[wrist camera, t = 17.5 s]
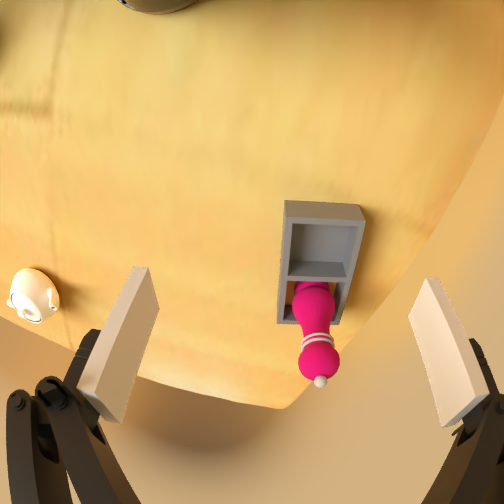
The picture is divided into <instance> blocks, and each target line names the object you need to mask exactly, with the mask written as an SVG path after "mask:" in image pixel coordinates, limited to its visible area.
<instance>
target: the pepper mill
mask: <svg viewBox="0 0 504 504" xmlns="http://www.w3.org/2000/svg"><path fill="white" fill-rule="evenodd" d="M294 296H295V297H294V299H293V301H292V309H293V313H294V316H295V318H296V320H297V321H298V322H299V324H300V325H301V327H302V330H303V335H304V338H303V340H302V341H301V351H302V353H301V354H300V356H299V360H298V365H299V369H300V371H301V373H302V375H303V376H304V377H306V378H308V379H310V380H313V381H314V383H315V385H316V386H317V387H320V388H321V387H324V386H325V385H326V383H327V379H328V378H330V377H332V376H333V375H334V374H335V373H336V372H337V370H338V368H339V365H340V358H339V354H338V352H337V351H336V350H335V349H334V339H333V337H332V336H331V335H330V333H329V327H330V323H331V320H332V317H333V314H334V309H335V302H334V298H333V295H332V294H331V293H330V290H329V284H328V282H312V281H297V282H296V284H295V286H294Z"/></svg>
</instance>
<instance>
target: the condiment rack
mask: <svg viewBox="0 0 504 504" xmlns="http://www.w3.org/2000/svg"><path fill="white" fill-rule="evenodd" d="M365 224H366V220H365V218H364V216H363V213H362V211H361V209H360V207H359V205H356V204H342V203H326V202H309V201H288V200H285V203H284V219H283V234H282V248H281V262H280V275H279V287H278V299H277V324H299V322H298V321H297V320H296V318H295V316H294V313H293V309H292V301H293V299H294V297H295V296H294V286H295V284H296V282H297V281H312V282H328V284H329V290H330V293H331V294H332V295H333V298H334V302H335V309H334V314H333V317H332V320H331V323H330V325H339V323H340V319H341V316H342V313H343V309H344V306H345V303H346V299H347V296H348V292H349V288H350V285H351V281H352V277H353V274H354V270H355V266H356V262H357V258H358V254H359V250H360V246H361V242H362V237H363V233H364V229H365Z"/></svg>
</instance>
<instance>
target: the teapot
mask: <svg viewBox="0 0 504 504" xmlns="http://www.w3.org/2000/svg"><path fill="white" fill-rule="evenodd" d="M59 302H60V300H59V294H58V292H57V289H56V287H55V285H54V283H53V282H52V281H51V280H50V278H49V277H48V276H46V275H45V274H44V273H42V272H41V271H39V270H36V269H30V268H25V269H22V270H20V271H19V272H18V273H17V274H16V275H15V277H14V280H13V282H12V286H11V291H10V298H9V299H8V300H7V305H8V306H9V307H13V308H15V309H16V311H17V313H18V315H19V316H20V317H21V318H24V319H26V320H28V321H30V322H33V323H41V322H43V321H45V320H47V319H48V318H50V317H51V316H52V315H54V314H55V312H56V311H57V310H58V308H59Z"/></svg>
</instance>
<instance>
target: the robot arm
mask: <svg viewBox="0 0 504 504" xmlns="http://www.w3.org/2000/svg"><path fill="white" fill-rule="evenodd" d="M118 1H119V2H120V3H122V4H123V5H124V6H126V7H128V8H130V9H132V10H135V11H138V12H142V13H147V14H166V13H171V12H175V11H178V10H181V9H183V8H186V7H188V6H190V5H192V4H193V3H195V2H197V1H198V0H118ZM158 312H159V305H158V302H157V298H156V294H155V291H154V287H153V283H152V279H151V276H150V272H149V268H148V267H133V269H132V271H131V273H130V274H129V276H128V278H127V280H126V282H125V284H124V286H123V288H122V290H121V292H120V294H119V296H118V298H117V300H116V301H115V303H114V305H113V308H112V310H111V312H110V314H109V316H108V318H107V320H106V322H105V324H104V326H103V328H102V330H96V329H91V330H90V331H89V332H88V333H87V334H86V335H85V336H84V337H83V339H82V342H81V344H80V346H79V349H78V350H77V352H76V354H75V357H74V358H73V361H72V363H71V365H70V367H69V369H68V372H67V374H66V376H65V378H64V381H63V382H62V381H61V380H60V379H58V378H57V377H54V376H49V377H45V378H44V379H42V380H41V381H40V382H39V383H38V384H37V386H36V389H35V396H30V395H29V394H28V393H27V392H26V391H24V390H16V391H14V392H13V393H12V394H10V396H9V398H8V401H7V410H6V411H7V412H6V446H7V465H8V477H9V486H10V494H11V501H12V504H73V502H72V498H71V493H70V489H69V483H68V477H67V472H68V475H69V477H70V480H71V482H72V484H73V486H74V489H75V491H76V493H77V495H78V497H79V500H80V502H81V504H141V503H140V501H139V499H138V498H137V496H136V494H135V493H134V491H133V489H132V487H131V486H130V484H129V482H128V480H127V479H126V477H125V475H124V473H123V471H122V469H121V468H120V466H119V464H118V462H117V460H116V458H115V456H114V454H113V452H112V450H111V448H110V446H109V443H108V442H107V439H106V437H105V435H104V433H103V430H102V428H101V426H100V424H99V422H98V419H99V416H100V415H101V416H102V418H104V419H105V420H106V421H110V422H114V423H117V424H122V421H123V417H124V413H125V410H126V407H127V404H128V401H129V397H130V394H131V390H132V387H133V385H134V381H135V378H136V375H137V372H138V369H139V366H140V363H141V360H142V357H143V354H144V351H145V348H146V345H147V343H148V340H149V337H150V334H151V331H152V328H153V325H154V323H155V320H156V317H157V314H158ZM408 318H409V321H410V323H411V326H412V329H413V332H414V335H415V338H416V341H417V344H418V346H419V350H420V353H421V356H422V359H423V362H424V365H425V369H426V372H427V375H428V379H429V382H430V385H431V389H432V393H433V396H434V400H435V404H436V408H437V412H438V416H439V420H440V424H441V428H443V427H448V426H451V425H455V424H456V423H457V422H459V421H460V420H461V419H462V420H463V423H464V424H462V425H461V426H460V427H459V428H458V429H456V430H455V431H454V432H453V433H452V436H454V435H455V434H456V433H458V434H457V436H456V439H455V441H454V443H453V445H452V447H451V450H450V452H449V454H448V456H447V458H446V460H445V462H444V464H443V466H442V468H441V470H440V472H439V474H438V476H437V477H436V479H435V481H434V483H433V485H432V487H431V488H430V490H429V492H428V493H427V495H426V497H425V498H424V500H423V502H422V503H421V504H504V394H500V393H499V391H498V389H497V386H496V383H495V381H494V378H493V375H492V373H491V370H490V368H489V366H488V365H487V361H486V358H484V354H483V351H482V349H481V346H480V345H479V344H478V343H477V342H476V340H475V339H474V338H472V339H468V337H467V335H466V333H465V330H464V328H463V326H462V324H461V322H460V320H459V318H458V315H457V313H456V311H455V309H454V307H453V305H452V303H451V301H450V300H449V297H448V295H447V294H446V291H445V290H444V288H443V286H442V284H441V282H440V280H439V278H429V277H428V278H425V281H424V283H423V285H422V287H421V290H420V292H419V294H418V297H417V298H416V301H415V303H414V305H413V307H412V309H411V311H410V313H409V316H408ZM66 470H67V472H66Z"/></svg>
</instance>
